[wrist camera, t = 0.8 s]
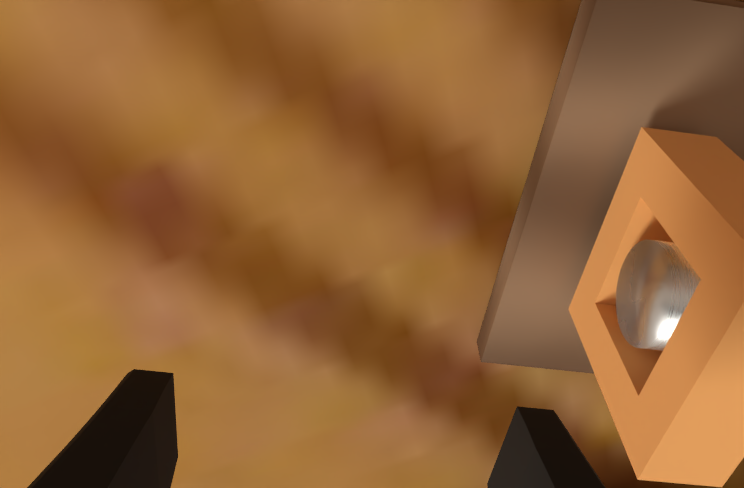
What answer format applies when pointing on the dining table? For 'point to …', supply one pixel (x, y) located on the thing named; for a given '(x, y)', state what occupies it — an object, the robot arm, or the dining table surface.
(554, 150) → the pipe board
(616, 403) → the collar
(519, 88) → the dining table surface
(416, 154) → the dining table surface
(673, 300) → the pipe
